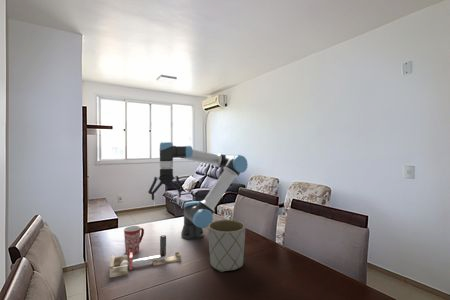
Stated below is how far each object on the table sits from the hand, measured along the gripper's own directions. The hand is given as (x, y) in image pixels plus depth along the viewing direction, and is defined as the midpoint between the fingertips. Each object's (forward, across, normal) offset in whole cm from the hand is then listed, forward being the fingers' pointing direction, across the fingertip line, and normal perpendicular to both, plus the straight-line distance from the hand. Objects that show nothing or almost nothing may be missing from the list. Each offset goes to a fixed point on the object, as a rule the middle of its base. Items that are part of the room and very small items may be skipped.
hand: (166, 204), depth 136 cm
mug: (+27, +17, -6) cm, 32 cm away
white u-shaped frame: (+26, +12, +14) cm, 32 cm away
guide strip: (+26, +3, +15) cm, 30 cm away
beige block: (+26, +26, +14) cm, 39 cm away
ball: (+24, +23, +14) cm, 36 cm away
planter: (+27, -25, +30) cm, 48 cm away
